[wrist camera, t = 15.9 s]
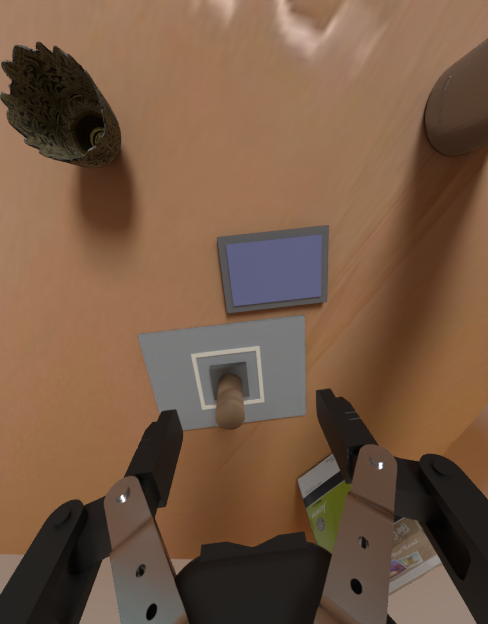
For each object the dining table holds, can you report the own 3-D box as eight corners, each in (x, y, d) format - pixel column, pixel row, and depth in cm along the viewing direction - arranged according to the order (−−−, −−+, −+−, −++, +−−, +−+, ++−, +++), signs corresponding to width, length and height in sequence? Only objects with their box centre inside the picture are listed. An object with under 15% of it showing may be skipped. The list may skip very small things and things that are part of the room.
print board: (303, 314, 33) (305, 316, 32) (304, 412, 39) (306, 415, 38) (139, 334, 32) (137, 336, 32) (166, 429, 38) (164, 433, 38)
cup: (129, 193, 27) (89, 177, 19) (63, 163, 25) (-7, 132, 18) (147, 124, 25) (111, 75, 17) (77, 87, 23) (3, 16, 16)
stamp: (245, 361, 34) (250, 397, 27) (249, 391, 36) (254, 432, 29) (209, 365, 34) (204, 402, 27) (214, 395, 36) (210, 437, 28)
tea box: (326, 499, 47) (368, 611, 33) (295, 477, 44) (326, 589, 30) (386, 458, 44) (459, 562, 30) (356, 432, 41) (421, 533, 27)
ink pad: (324, 225, 29) (329, 225, 28) (323, 299, 32) (328, 302, 31) (217, 237, 29) (216, 237, 27) (227, 310, 32) (227, 314, 31)
